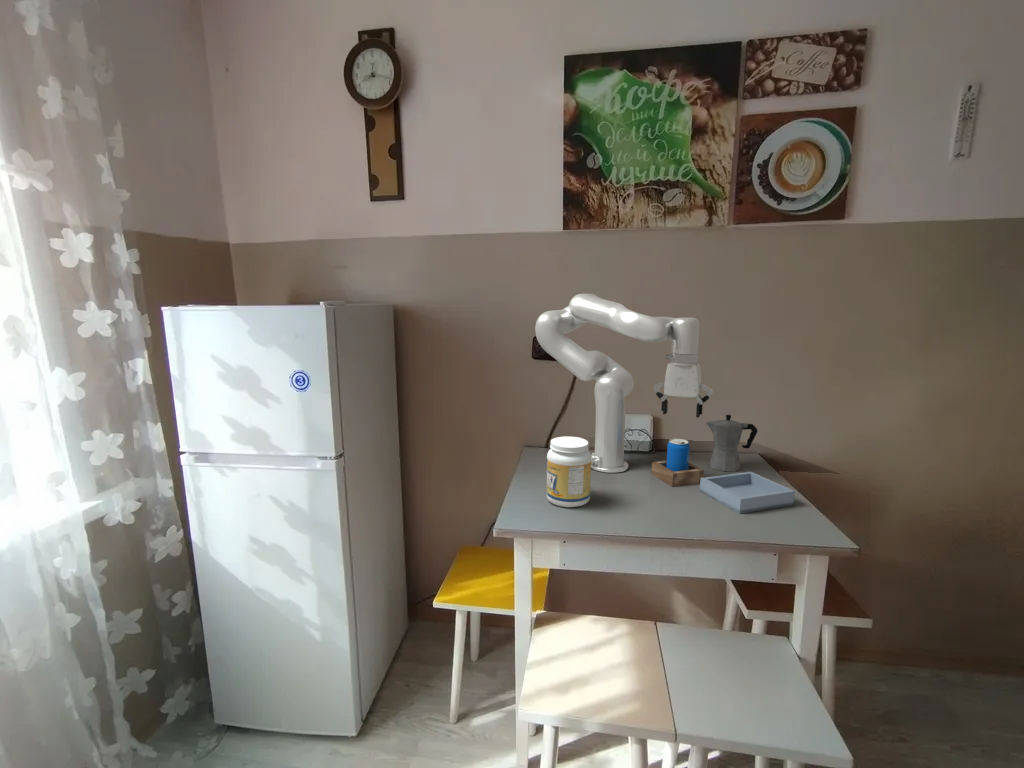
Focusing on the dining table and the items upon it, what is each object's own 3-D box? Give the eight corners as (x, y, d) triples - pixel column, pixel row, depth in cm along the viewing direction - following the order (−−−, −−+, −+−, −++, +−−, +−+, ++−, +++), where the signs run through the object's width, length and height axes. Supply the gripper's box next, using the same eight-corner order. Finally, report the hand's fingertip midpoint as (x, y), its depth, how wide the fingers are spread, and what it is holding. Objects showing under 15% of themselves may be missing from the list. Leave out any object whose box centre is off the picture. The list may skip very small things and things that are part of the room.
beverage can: (683, 483, 153) (685, 445, 151) (662, 479, 157) (664, 441, 154) (690, 477, 158) (692, 440, 156) (670, 473, 162) (672, 437, 160)
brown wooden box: (672, 486, 150) (672, 473, 150) (651, 474, 161) (651, 462, 160) (703, 482, 154) (703, 470, 153) (680, 470, 164) (681, 458, 163)
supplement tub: (539, 494, 144) (539, 437, 141) (577, 489, 149) (578, 433, 146) (558, 511, 133) (559, 450, 130) (598, 505, 137) (600, 445, 134)
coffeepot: (702, 469, 165) (706, 415, 162) (703, 460, 174) (707, 409, 171) (754, 475, 159) (759, 420, 156) (753, 466, 168) (757, 414, 165)
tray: (739, 513, 132) (740, 499, 131) (699, 491, 147) (700, 478, 146) (793, 505, 137) (795, 491, 136) (749, 484, 152) (750, 471, 151)
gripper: (651, 359, 151) (649, 414, 154) (713, 362, 143) (710, 420, 146) (657, 356, 158) (655, 410, 161) (716, 359, 150) (713, 415, 153)
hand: (681, 415), depth 153 cm, fingers open, 9 cm apart
